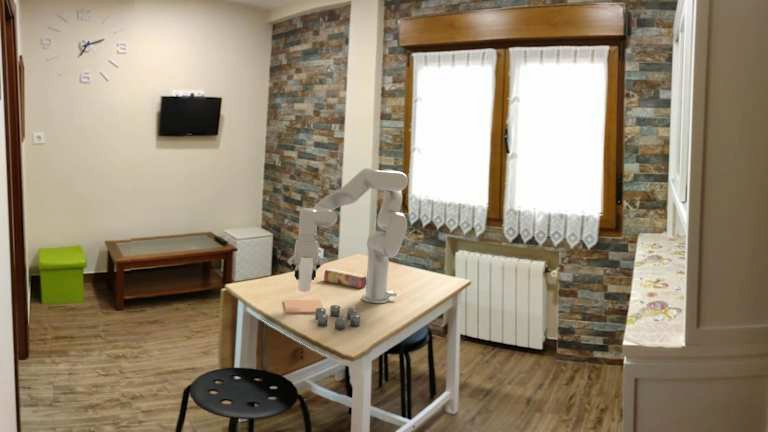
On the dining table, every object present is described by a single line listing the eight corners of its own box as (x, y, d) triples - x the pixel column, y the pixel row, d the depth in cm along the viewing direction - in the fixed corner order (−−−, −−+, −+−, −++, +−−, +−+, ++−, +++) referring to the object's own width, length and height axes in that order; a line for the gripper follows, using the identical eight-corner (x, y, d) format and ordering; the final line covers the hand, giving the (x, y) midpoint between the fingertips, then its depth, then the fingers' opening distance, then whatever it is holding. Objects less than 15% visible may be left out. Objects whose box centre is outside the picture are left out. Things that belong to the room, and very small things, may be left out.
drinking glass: (296, 292, 253) (298, 257, 250) (295, 288, 259) (297, 254, 257) (312, 292, 254) (315, 258, 252) (311, 288, 261) (313, 254, 258)
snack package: (366, 286, 298) (367, 273, 297) (361, 289, 292) (362, 276, 291) (328, 279, 306) (329, 266, 305) (322, 282, 300) (323, 269, 299)
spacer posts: (354, 314, 255) (354, 305, 254) (362, 330, 236) (362, 320, 236) (313, 314, 251) (314, 305, 250) (319, 330, 233) (319, 320, 232)
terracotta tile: (320, 302, 268) (320, 299, 267) (324, 313, 252) (324, 311, 252) (283, 302, 264) (283, 299, 264) (285, 314, 249) (286, 311, 248)
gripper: (326, 236, 259) (324, 277, 262) (286, 235, 255) (283, 276, 258) (328, 240, 252) (326, 281, 254) (287, 238, 248) (284, 281, 251)
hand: (304, 278), depth 256 cm, fingers closed on drinking glass, 6 cm apart
